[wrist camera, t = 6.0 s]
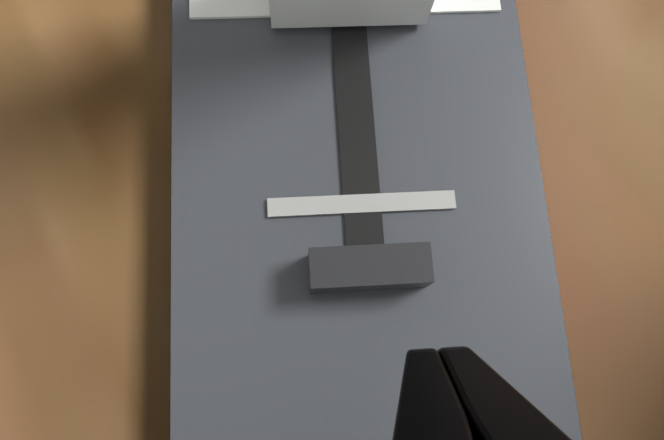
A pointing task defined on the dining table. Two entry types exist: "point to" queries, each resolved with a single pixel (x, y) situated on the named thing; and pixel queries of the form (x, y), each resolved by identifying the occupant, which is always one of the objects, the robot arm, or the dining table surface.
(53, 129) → the dining table surface
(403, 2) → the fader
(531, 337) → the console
